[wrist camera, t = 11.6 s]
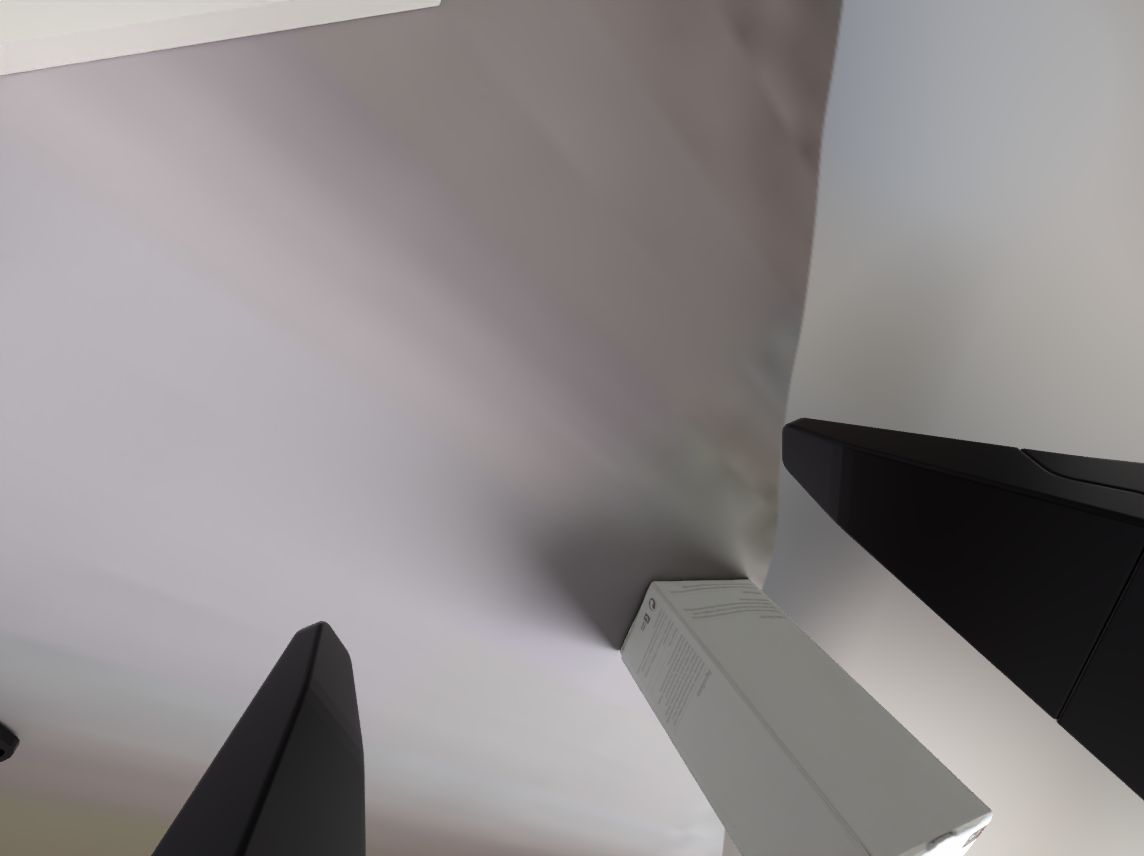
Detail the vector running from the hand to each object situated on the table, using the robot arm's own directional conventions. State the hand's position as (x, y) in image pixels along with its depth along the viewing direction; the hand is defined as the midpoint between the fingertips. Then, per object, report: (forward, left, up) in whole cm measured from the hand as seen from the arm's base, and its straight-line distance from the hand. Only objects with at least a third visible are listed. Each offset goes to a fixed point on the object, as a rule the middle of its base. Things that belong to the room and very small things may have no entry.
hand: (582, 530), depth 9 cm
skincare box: (+8, -20, -12) cm, 25 cm away
